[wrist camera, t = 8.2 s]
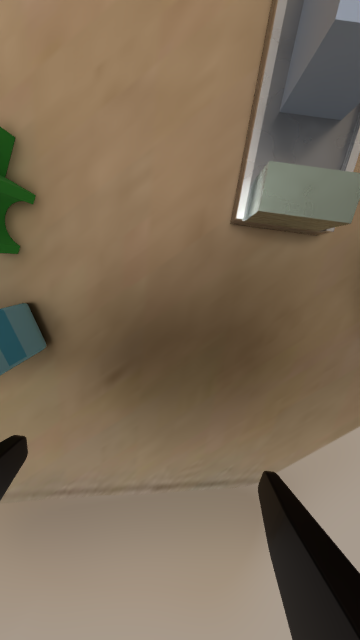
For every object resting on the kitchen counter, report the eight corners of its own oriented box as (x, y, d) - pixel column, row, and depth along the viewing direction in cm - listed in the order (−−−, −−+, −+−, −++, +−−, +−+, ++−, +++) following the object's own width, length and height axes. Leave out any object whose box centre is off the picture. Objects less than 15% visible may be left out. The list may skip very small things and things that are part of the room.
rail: (442, -177, 10) (627, -499, 6) (316, 235, 16) (363, 225, 12) (308, -195, 10) (395, -529, 6) (230, 223, 16) (245, 209, 12)
